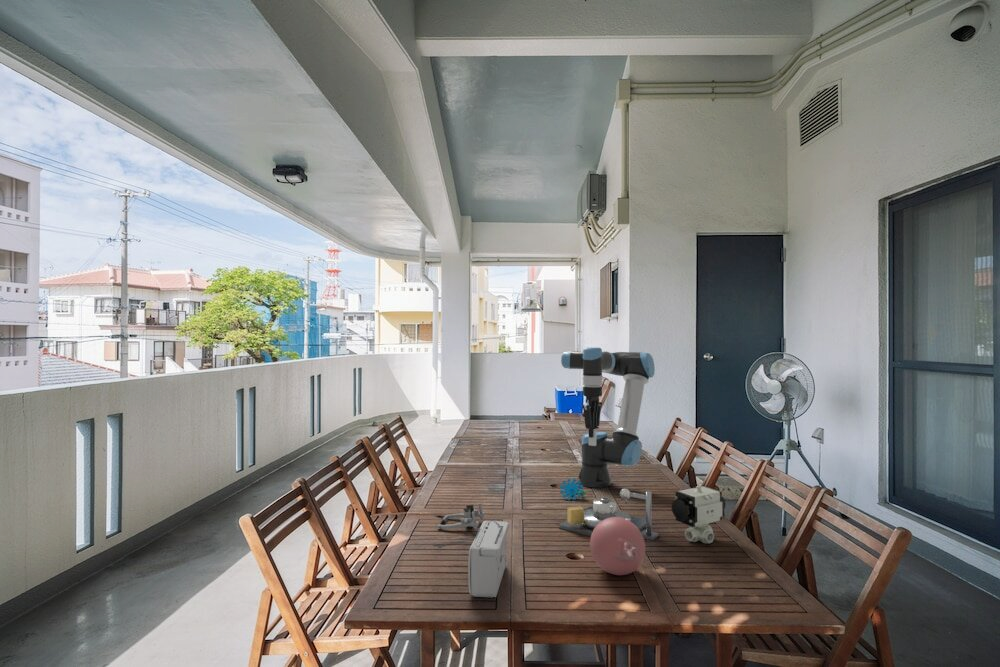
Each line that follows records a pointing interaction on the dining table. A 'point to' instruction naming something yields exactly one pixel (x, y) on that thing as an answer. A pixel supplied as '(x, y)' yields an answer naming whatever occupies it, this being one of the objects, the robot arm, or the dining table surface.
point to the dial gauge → (646, 533)
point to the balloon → (617, 546)
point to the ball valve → (699, 511)
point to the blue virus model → (572, 489)
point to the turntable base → (584, 530)
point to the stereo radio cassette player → (487, 559)
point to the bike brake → (464, 518)
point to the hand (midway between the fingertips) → (592, 445)
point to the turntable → (588, 516)
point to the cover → (604, 508)
